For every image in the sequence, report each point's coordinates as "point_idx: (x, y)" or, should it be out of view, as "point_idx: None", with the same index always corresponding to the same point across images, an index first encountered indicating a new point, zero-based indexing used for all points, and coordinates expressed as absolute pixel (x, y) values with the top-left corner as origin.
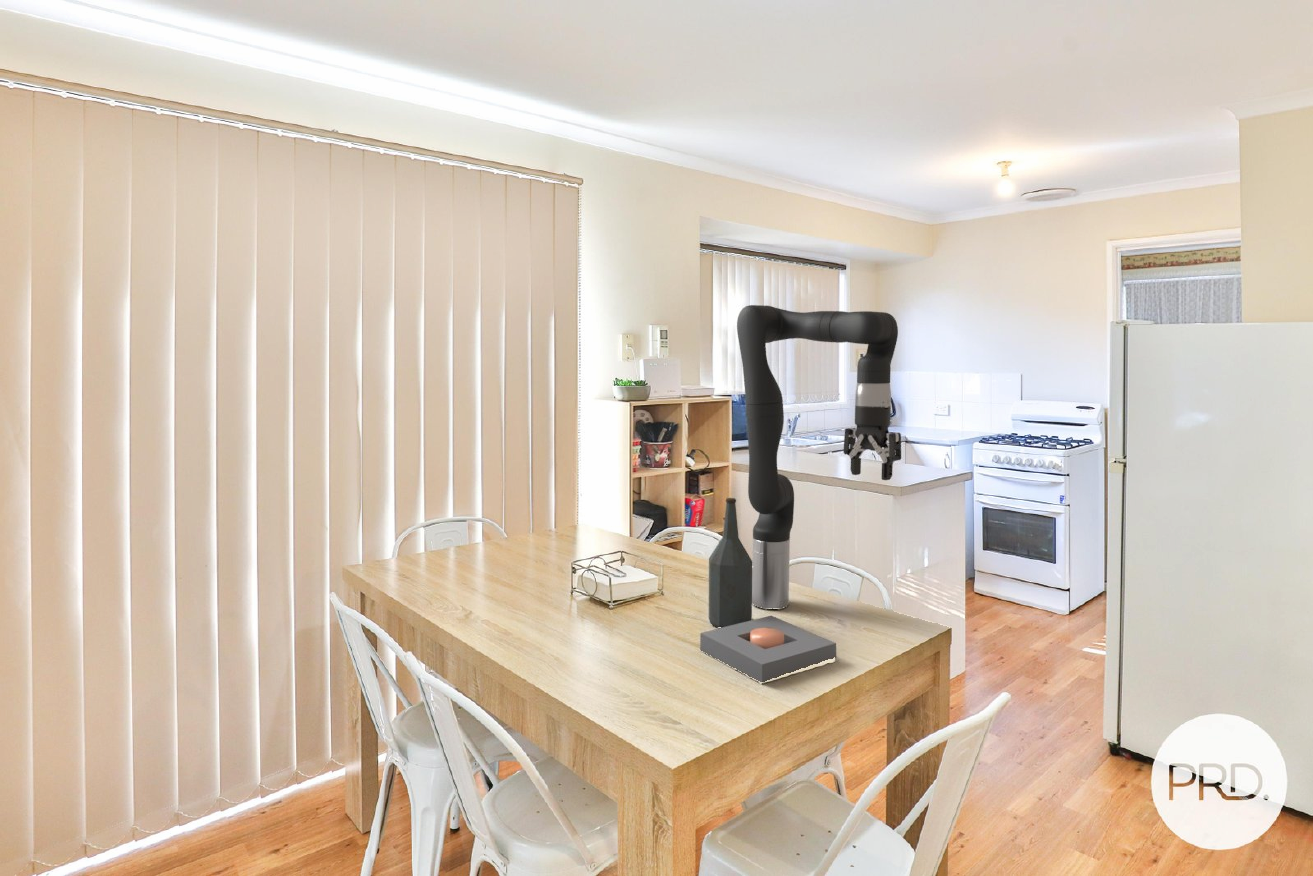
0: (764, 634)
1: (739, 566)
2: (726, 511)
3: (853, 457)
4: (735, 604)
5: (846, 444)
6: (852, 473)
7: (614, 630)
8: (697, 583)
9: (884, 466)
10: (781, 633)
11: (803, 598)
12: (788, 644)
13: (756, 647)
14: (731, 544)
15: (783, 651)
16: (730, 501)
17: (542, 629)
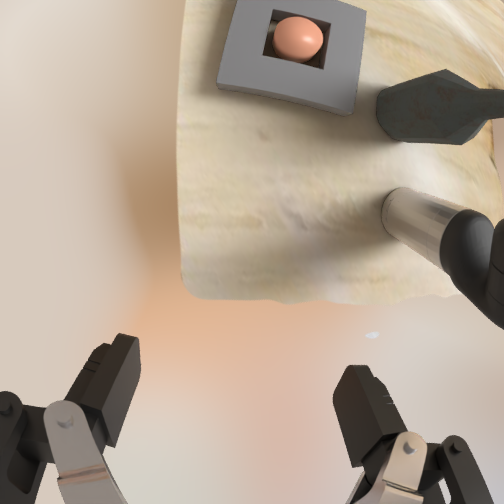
0: (300, 31)
1: (426, 81)
2: None
3: (392, 442)
4: (395, 87)
5: (469, 487)
6: (361, 365)
7: (448, 32)
8: None
9: (88, 387)
10: (286, 47)
11: (381, 266)
12: (261, 36)
13: (284, 7)
14: (466, 86)
15: (250, 16)
16: None
17: (474, 13)
